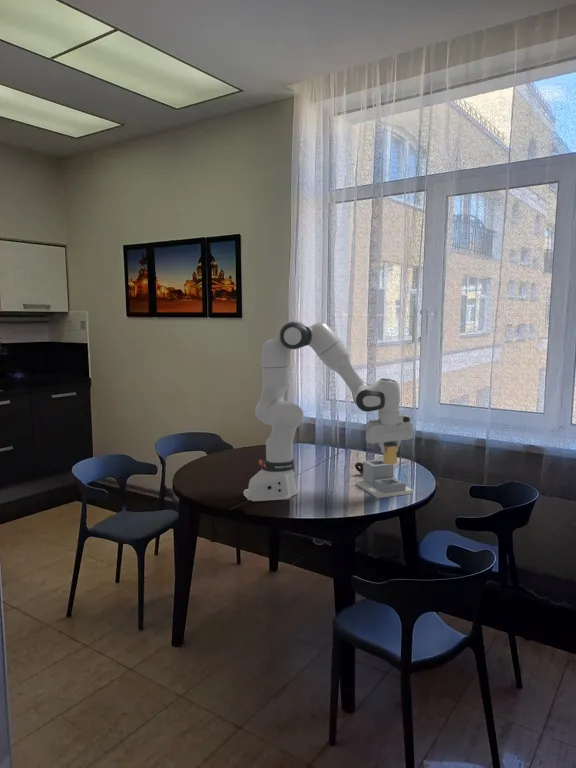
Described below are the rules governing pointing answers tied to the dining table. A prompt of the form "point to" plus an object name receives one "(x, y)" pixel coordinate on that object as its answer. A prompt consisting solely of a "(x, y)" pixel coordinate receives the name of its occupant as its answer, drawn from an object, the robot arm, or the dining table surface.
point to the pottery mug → (360, 467)
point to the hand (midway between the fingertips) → (389, 451)
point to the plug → (390, 453)
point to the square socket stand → (381, 480)
